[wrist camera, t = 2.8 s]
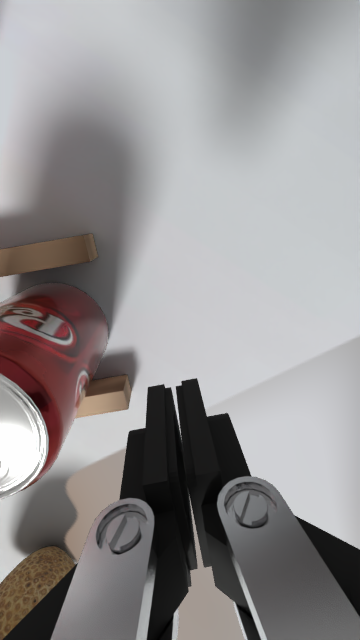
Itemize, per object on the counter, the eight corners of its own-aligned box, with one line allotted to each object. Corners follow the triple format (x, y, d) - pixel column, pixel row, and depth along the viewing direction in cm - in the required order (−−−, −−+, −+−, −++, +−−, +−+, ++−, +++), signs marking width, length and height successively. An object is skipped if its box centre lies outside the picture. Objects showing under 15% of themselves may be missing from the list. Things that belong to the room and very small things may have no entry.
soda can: (-8, 299, 22) (-196, 387, 10) (86, 266, 21) (-3, 321, 10) (39, 383, 24) (-74, 530, 13) (124, 355, 24) (87, 480, 12)
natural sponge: (122, 549, 30) (103, 698, 21) (68, 595, 32) (29, 752, 23) (45, 505, 28) (-15, 651, 19) (-7, 558, 30) (-87, 715, 20)
